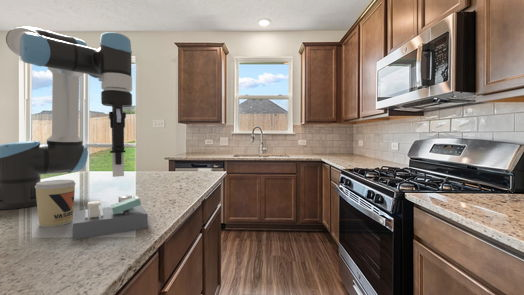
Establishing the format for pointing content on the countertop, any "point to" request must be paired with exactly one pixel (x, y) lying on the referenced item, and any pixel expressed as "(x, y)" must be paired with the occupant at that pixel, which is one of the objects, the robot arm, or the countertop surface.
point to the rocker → (125, 205)
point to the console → (108, 222)
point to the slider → (94, 208)
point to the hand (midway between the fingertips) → (118, 176)
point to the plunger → (124, 198)
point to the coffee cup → (55, 202)
